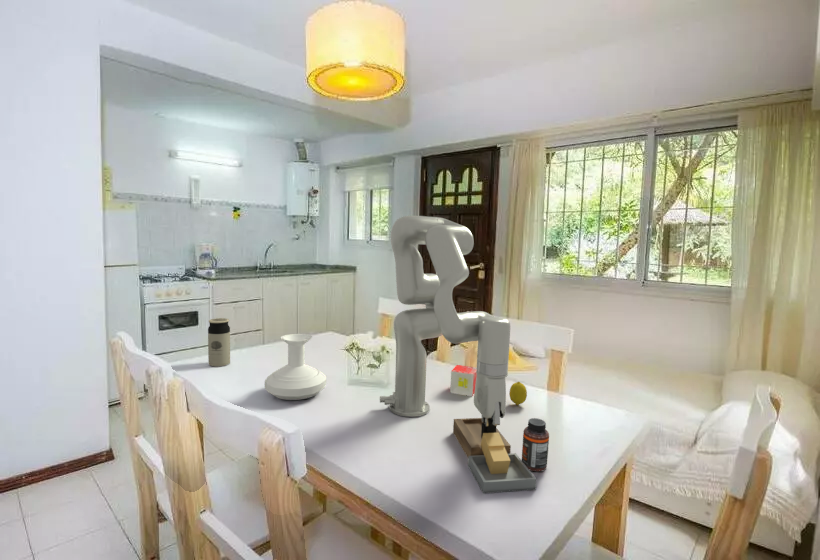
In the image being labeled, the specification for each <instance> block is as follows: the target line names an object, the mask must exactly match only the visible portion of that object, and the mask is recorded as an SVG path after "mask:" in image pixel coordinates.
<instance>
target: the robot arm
mask: <svg viewBox="0 0 820 560" xmlns="http://www.w3.org/2000/svg"><path fill="white" fill-rule="evenodd" d="M390 245H391V248H392V253H393V257H394V262H395V279H396V280H395V282H396V293H397V294H396V295H397V298H398V301H399V303H401V304H402V305H407V306H413V305H415V306H416V305H425V307H424V308H413V309H406V310H405V309H404V310H402V311H399V313H397V314H396V315H395V317H394V319H393V332H394V336H395V377H394V379H395V380H394V381H395V382H394V391H393V392H392V394H390V395H389V396H386V395H380V396H379V403H380V404H381V403H383V404H384V405H386V406H389V410H390V411H391V413H393V414H394V415H397V416H400V417H409V418H411V417H412V418H417V417H421V416H424V415H426V414H428V413H429V412H430V410H431V409H430V404H429V403H428V402H427V401H426V387H427V386H426V385H427V384H426V383H427V360H428V359H427V358H428V357H427V356H428V355H427V352H426V348H425V347H424V345H423V344H422V341H423V340H426V339H427V340H428V339H434V338H440V337H442V336H443V337H444V339H445V340H446V341H448V342H449V343H451V344H456V345H457V344H463V343H470V342H477V356H476V368H477V371H476V373H477V376H476V383H475V393H474V395H473V404H474V406H475V408H476V409H477V410H478V412H479V414H481V418H482V422H483V423H482V430H481V438H482V436H483V433H496V428H497V426H501V419H503V418H504V417H505V415H506V407H507V405H506V403H507V401H506V400H507V387H506V386H507V385H506V384H507V383H506V378H507V376H508V373H509V358H510V357H509V356H510V343H511V342H510V341H511V340H510V338H511V323H510V320H508V319H507V318H504V317H500V316H494V315H492V314H490V313H488V312H486V311H481V310H476V311H463V312H457V310H456V307H455V304H454V300H453V291H454V288H455V287H456V286H458V285H460V284H462V283H463V282H464V281H465V280H466V279H468V277H469V276H470V275H469V274H470V270H469V267H468V266H467V265H468V264H467V263H466V260H465V257H464V256H467V255H469V254H470V253H471V252H472V250H473V248H474V245H475V243H474V235H473V234H472V232H471V230H470V229H469V228H468V227H466V226H465V225H462V224H459V223H457V222H454V221H452V220H449V219H446V218H443V217H438V216H437V217H436V216H425V215H404V216H401V217H399V218H397V219H396V220H395V221H394V223H393V225H392V226H391V231H390ZM415 245H425V246H426V249H427V251H428V254H429V257H430V260H431V262H432V265H433V268H434V272H435V273H424V259H423V257H422V255H421V253H420V252H419V250H418V249H417V247H416V246H415Z"/></svg>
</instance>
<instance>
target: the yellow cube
mask: <svg viewBox="0 0 820 560" xmlns="http://www.w3.org/2000/svg"><path fill="white" fill-rule="evenodd" d="M492 447H504V443H503V441H502V439H501V436H500V434H499V433H483V436H482V441H481V448H482V451H483V453H484V456H485V459H486V456H487V451H488V448H492Z"/></svg>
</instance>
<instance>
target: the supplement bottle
mask: <svg viewBox="0 0 820 560" xmlns="http://www.w3.org/2000/svg"><path fill="white" fill-rule="evenodd" d="M546 428H547V424H546V421H545V420H544V419H540V418H535V417H534V418H529V419H528V423H527V426H526V427H525V428H524V429H523V434H522V449H521V460H522V462H523V463H524V464H525V465H526V467H527V468H528V469H529V470H530V472H536V473H538V472H539V473H540V472H543V471H545V470H546V469H547V467H548V457H549V456H548V454H549V444H550V433H549V431H548V430H547V429H546Z"/></svg>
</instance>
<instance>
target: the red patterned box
mask: <svg viewBox="0 0 820 560" xmlns="http://www.w3.org/2000/svg"><path fill="white" fill-rule="evenodd" d="M476 371H477V367H475V366H474V367H473V366H468V365H460V364H457V365H455V366H454V367H453V368H452V370H451V372H450V387H449V388H450V390H449V394H450V393H451V394H455V395H462V396H466V395H467V396H468V397H472V396H473V397H474V395H473V394H474V393H475V383H476V376H477V373H476Z"/></svg>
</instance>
